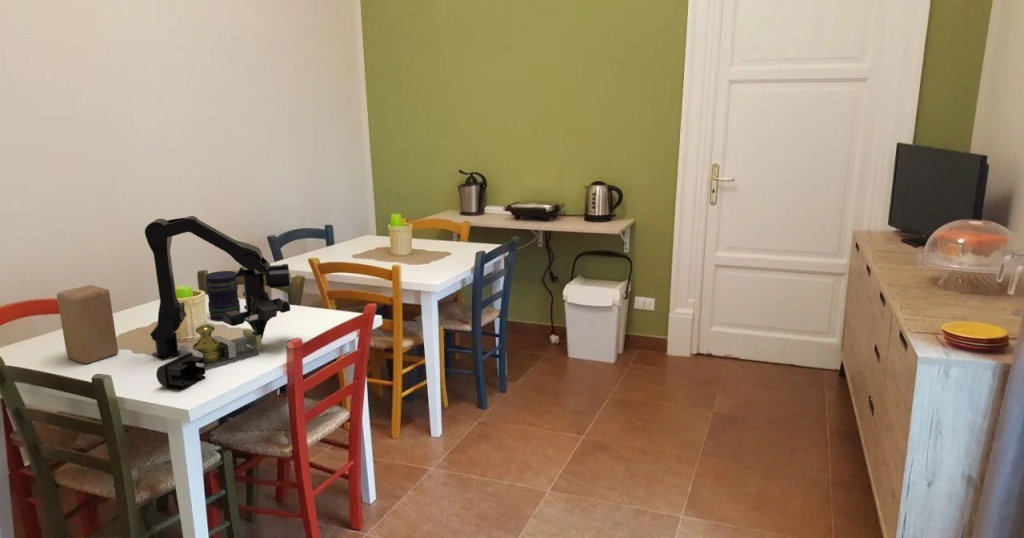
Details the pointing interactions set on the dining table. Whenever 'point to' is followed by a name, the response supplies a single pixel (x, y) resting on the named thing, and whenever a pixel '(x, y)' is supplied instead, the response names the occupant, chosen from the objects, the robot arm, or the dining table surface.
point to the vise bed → (241, 354)
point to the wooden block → (87, 323)
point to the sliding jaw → (239, 342)
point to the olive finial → (208, 344)
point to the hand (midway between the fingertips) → (260, 339)
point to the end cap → (181, 372)
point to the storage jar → (222, 293)
